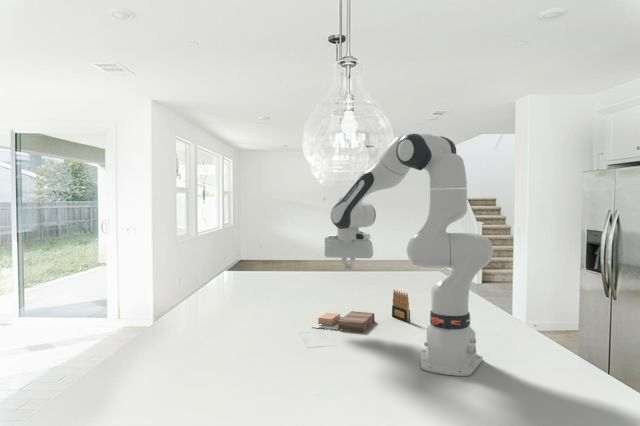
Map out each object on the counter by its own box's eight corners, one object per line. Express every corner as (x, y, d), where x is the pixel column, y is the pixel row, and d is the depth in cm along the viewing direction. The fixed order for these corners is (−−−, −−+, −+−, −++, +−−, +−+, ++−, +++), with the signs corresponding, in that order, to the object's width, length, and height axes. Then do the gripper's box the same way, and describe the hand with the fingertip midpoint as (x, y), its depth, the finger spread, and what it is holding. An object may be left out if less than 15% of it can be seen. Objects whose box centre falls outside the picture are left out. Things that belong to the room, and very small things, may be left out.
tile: (318, 317, 169) (318, 323, 169) (331, 319, 167) (332, 325, 167) (326, 312, 177) (326, 318, 177) (339, 313, 175) (339, 319, 175)
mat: (337, 330, 161) (337, 329, 161) (311, 327, 165) (311, 326, 165) (352, 318, 177) (352, 317, 177) (328, 316, 182) (328, 315, 182)
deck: (362, 332, 158) (362, 323, 158) (338, 329, 162) (338, 320, 162) (374, 321, 172) (374, 313, 172) (351, 319, 176) (351, 311, 176)
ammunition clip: (410, 322, 171) (410, 293, 170) (406, 322, 170) (406, 293, 170) (395, 316, 180) (395, 288, 180) (391, 316, 180) (391, 289, 179)
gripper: (321, 235, 171) (322, 268, 171) (369, 235, 164) (370, 270, 163) (327, 234, 177) (327, 267, 177) (374, 234, 169) (374, 268, 169)
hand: (348, 268), depth 170 cm, fingers closed
